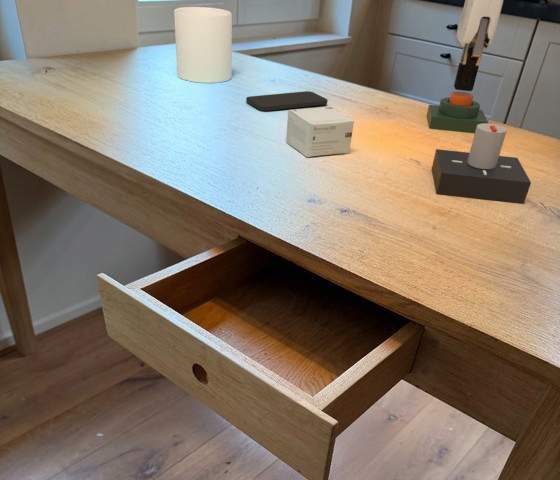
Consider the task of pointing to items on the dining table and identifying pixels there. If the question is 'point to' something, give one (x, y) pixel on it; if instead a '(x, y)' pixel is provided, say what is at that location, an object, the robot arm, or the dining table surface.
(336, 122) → the small box
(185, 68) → the cup
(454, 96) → the button
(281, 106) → the phone
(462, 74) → the robot arm
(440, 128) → the button block
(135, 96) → the dining table surface
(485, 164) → the knob
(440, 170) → the control panel
